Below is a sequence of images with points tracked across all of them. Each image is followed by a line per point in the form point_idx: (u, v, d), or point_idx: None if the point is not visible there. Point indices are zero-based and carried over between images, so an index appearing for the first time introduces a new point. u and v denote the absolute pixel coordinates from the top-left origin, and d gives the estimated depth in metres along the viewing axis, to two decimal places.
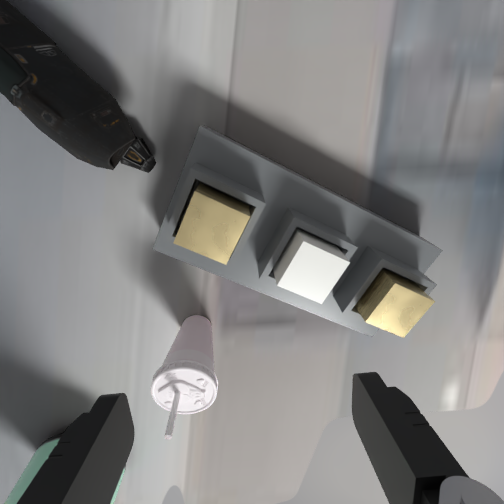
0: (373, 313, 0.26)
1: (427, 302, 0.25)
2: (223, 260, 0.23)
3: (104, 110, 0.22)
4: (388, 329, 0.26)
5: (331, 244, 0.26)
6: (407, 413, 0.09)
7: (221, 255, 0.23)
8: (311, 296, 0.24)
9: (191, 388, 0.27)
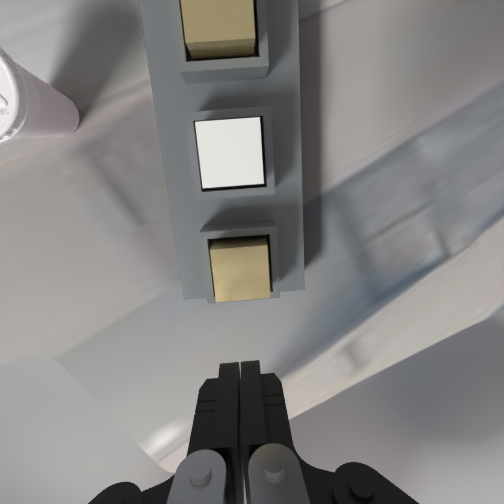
0: (224, 250, 0.22)
1: (265, 291, 0.23)
2: (189, 36, 0.18)
3: None
4: (215, 279, 0.23)
5: None
6: (272, 395, 0.10)
7: (193, 29, 0.18)
8: (204, 170, 0.20)
9: None
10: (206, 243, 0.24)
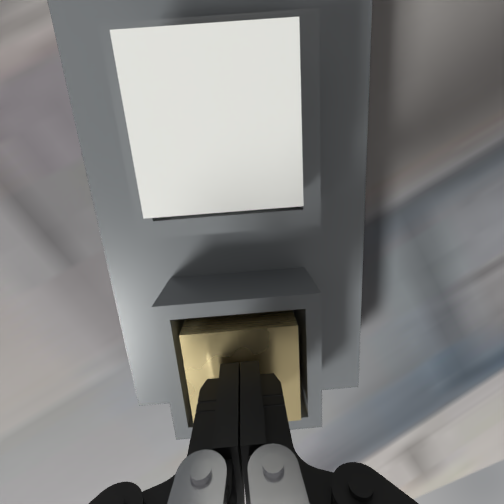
0: (209, 335, 0.11)
1: (292, 409, 0.12)
2: None
3: None
4: (193, 390, 0.11)
5: None
6: (272, 395, 0.10)
7: None
8: (146, 171, 0.08)
9: None
10: (169, 328, 0.11)
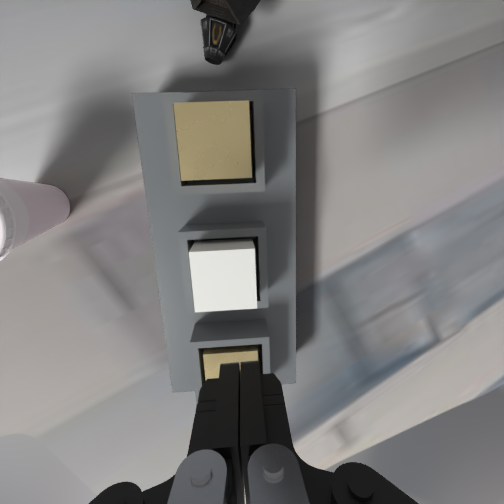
0: (216, 354, 0.23)
1: None
2: (185, 174, 0.18)
3: None
4: None
5: None
6: (272, 395, 0.10)
7: (190, 169, 0.18)
8: (197, 296, 0.20)
9: None
10: (197, 352, 0.23)
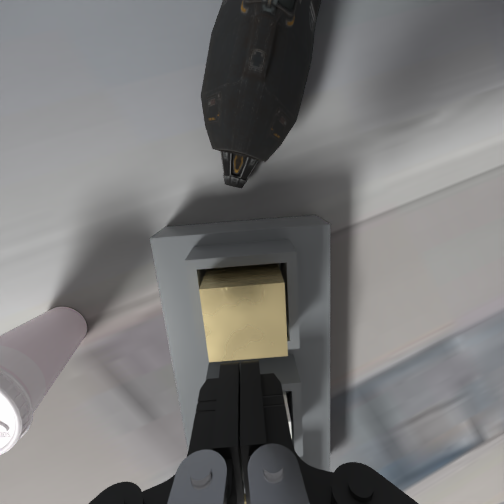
0: None
1: None
2: (213, 356, 0.16)
3: (284, 118, 0.17)
4: None
5: None
6: (272, 395, 0.10)
7: (218, 351, 0.16)
8: None
9: None
10: None
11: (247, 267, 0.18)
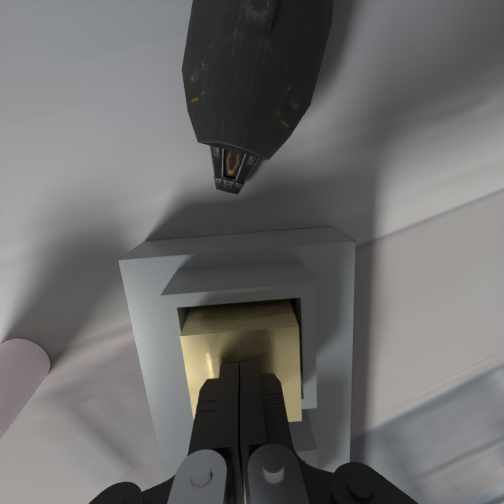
0: None
1: None
2: None
3: (296, 100, 0.12)
4: None
5: None
6: (272, 395, 0.10)
7: None
8: None
9: None
10: None
11: None
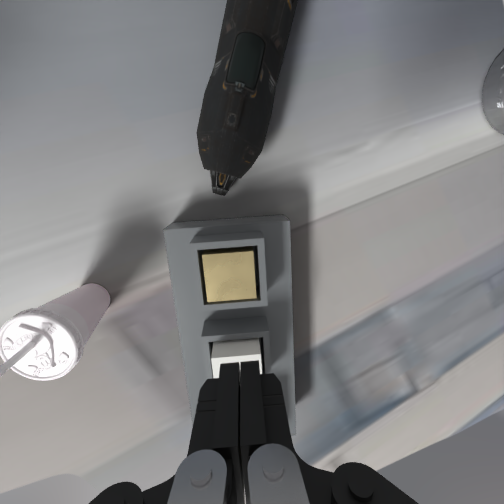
0: None
1: None
2: (210, 298, 0.26)
3: (252, 150, 0.25)
4: None
5: None
6: (272, 395, 0.10)
7: (213, 294, 0.26)
8: None
9: (48, 353, 0.24)
10: None
11: None
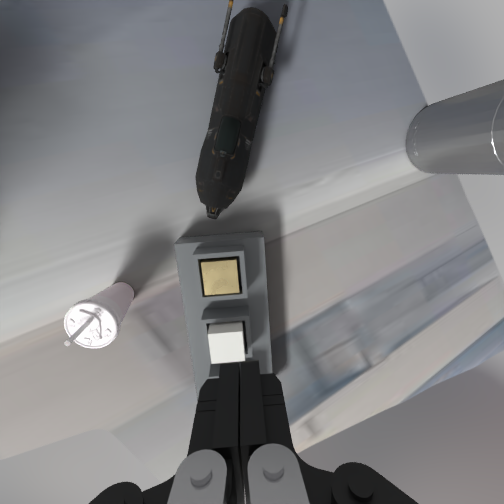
0: None
1: None
2: (206, 292, 0.37)
3: (234, 190, 0.36)
4: None
5: None
6: (272, 395, 0.10)
7: (209, 290, 0.37)
8: (212, 355, 0.37)
9: (98, 329, 0.35)
10: None
11: None
